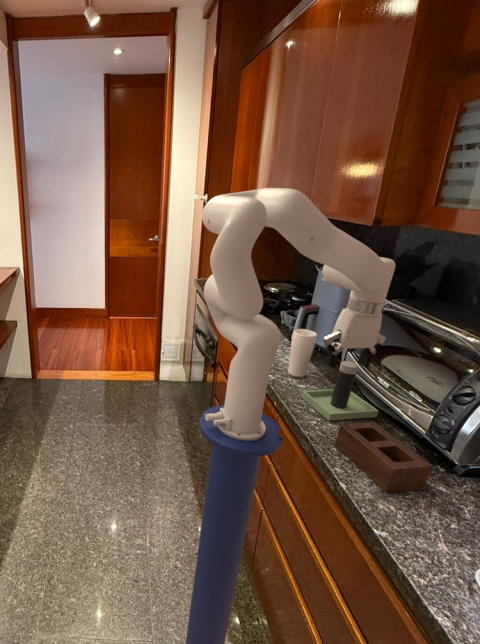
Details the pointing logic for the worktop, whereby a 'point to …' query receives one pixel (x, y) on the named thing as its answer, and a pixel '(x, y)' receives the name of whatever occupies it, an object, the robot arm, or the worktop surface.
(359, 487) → the worktop surface
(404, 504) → the worktop surface
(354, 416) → the tray
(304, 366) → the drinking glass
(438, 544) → the worktop surface
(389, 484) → the holder
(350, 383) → the tool handle
